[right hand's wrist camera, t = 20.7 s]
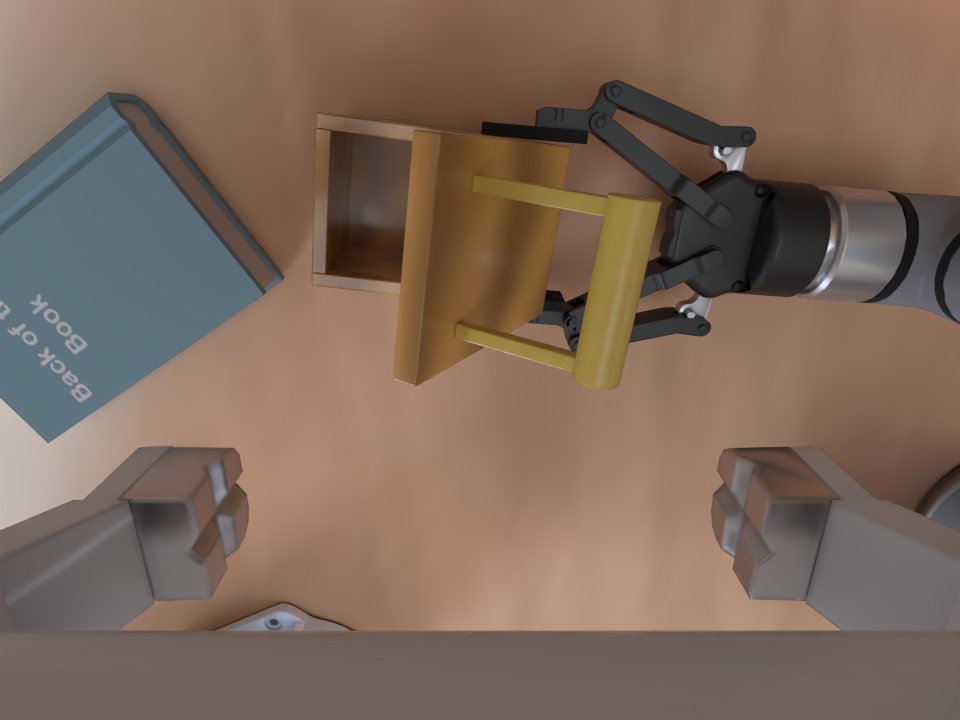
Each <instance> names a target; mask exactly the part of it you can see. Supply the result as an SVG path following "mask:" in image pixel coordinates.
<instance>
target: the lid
mask: <svg viewBox="0 0 960 720" xmlns="http://www.w3.org/2000/svg"><path fill="white" fill-rule="evenodd" d="M570 150H571V148H570V147H566V146H559V145H552V144H543V143H534V142H525V141H516V140H507V139H498V138H490V137H481V136H472V135H463V134H454V133H445V132H436V131H428V130H419V129H416V130H414V132H413V144H412V156H411V168H410V180H409V192H408V204H407V216H406V228H405V240H404V252H403V264H402V276H401V288H400V300H399V312H398V324H397V336H396V348H395V360H394V372H393V379H394V380H397V381H400V382H403V383H406V384H409V385H412V386H418V385H419V384H421V383H423V382H425V381H426V380H428V379H430V378H432V377H433V376H435V375H437V374H439V373H440V372H442V371H444V370H446V369H447V368H449V367H451V366H453V365H454V364H456V363H458V362H460V361H461V360H463V359H465V358H467V357H468V356H470V355H472V354H474V353H475V352H477V351H479V350H481V349H482V348H484V347H487V348H491V349H494V350H498V351H501V352H505V353H508V354H511V355H515V356H518V357H522V358H525V359H528V360H532V361H535V362H539V363H542V364H546V365H549V366H552V367H556V368H559V369H563V370H566V371H570V372H572V377H573V379H574V380H575V381H576V382H578V383H580V384H582V385H584V386H587V387H591V388H595V389H602V390H610V389H615V388H617V387H618V386H619V383H620V379H621V375H622V370H623V366H624V362H625V357H626V353H627V349H628V345H629V340H630V336H631V332H632V327H633V323H634V319H635V314H636V310H637V306H638V302H639V297H640V293H641V289H642V284H643V280H644V276H645V271H646V267H647V263H648V258H649V254H650V250H651V246H652V241H653V237H654V233H655V228H656V224H657V220H658V215H659V211H660V207H661V201H659V200H656V199H652V198H647V197H641V196H635V195H628V194H620V193H609V194H608V196H604V195H598V194H592V193H586V192H580V191H575V190H569V189H564V184H565V179H566V173H567V167H568V161H569V156H570ZM560 208H561V209H566V210H571V211H577V212H582V213H588V214H593V215H598V216H603V221H602V226H601V231H600V236H599V241H598V246H597V251H596V256H595V261H594V266H593V272H592V277H591V282H590V287H589V292H588V297H587V302H586V307H585V312H584V317H583V322H582V327H581V332H580V337H579V342H578V347H577V352H573V351H569V350H565V349H562V348H558V347H555V346H551V345H548V344H544V343H540V342H537V341H533V340H530V339H526V338H522V337H519V336H515V335H512V334H508V333H510V332H512V331H514V330H515V329H517V328H519V327H521V326H522V325H524V324H526V323H528V322H529V321H531V320H533V319H535V318H536V317H538V316H540V315H542V311H543V305H544V300H545V294H546V288H547V282H548V277H549V271H550V265H551V259H552V254H553V248H554V242H555V236H556V231H557V225H558V219H559V213H560Z"/></svg>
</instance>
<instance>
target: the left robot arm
mask: <svg viewBox="0 0 960 720" xmlns="http://www.w3.org/2000/svg"><path fill="white" fill-rule="evenodd" d="M617 108H618V109H620V110H622V111H624V112H627V113H629V114H631V115H634V116H636V117H638V118H640V119H643V120H645V121H647V122H649V123H652V124H654V125H656V126H659V127H661V128H663V129H665V130H668V131H670V132H672V133H674V134H677V135H679V136H681V137H683V138H686V139H688V140H690V141H693V142H696V143H699V144H703V145H709V155H710V156H711V157H712V158H714V159H717V160H719V161H720V162H721V164H722V170H721V171H719V172H717V173H716V174H714V175H712V176H710V177H709V178H707V179H705V180H704V181H702V182H700V183H698V184H697V185H696V184H695V183H694V182H692V181H691V180H690V179H689V178H687V177H685V176H684V175H682V174H681V173H680V172H678V171H677V170H676V169H675V168H673V167H672V166H671V165H670V164H668V163H667V162H666V161H665V160H663V159H662V158H661V157H660V156H658V155H657V154H656V153H655V152H654V151H652V150H651V149H650V148H649V147H647V146H646V145H645V144H644V143H642V142H641V141H640V140H639V139H637V138H636V137H635V136H634V135H632V134H631V133H630V132H629V131H627V130H626V129H625V128H624V127H622V126H621V125H620V124H619V123H617V122H616V121H615V120H614V119H613V118H612V117H613V115H614V113H615V111H616V109H617ZM588 132H590V133H592V134H593V135H594V136H595V137H597V138H598V139H599V140H600V141H602V142H603V143H604V144H605V145H607V146H608V147H609V148H610V149H612V150H613V151H614V152H616V153H617V154H618V155H619V156H621V157H622V158H623V159H624V160H626V161H627V162H628V163H629V164H631V165H632V166H633V167H635V168H636V169H637V170H638V171H640V172H641V173H642V174H643V175H645V176H646V177H647V178H648V179H650V180H651V181H652V182H654V183H655V184H656V185H657V186H658V187H659V188H660V189H661V190H663V191H664V192H665V193H666V194H668V195H669V196H670V197H671V198H673V199H674V200H673V202H672V203H671V205H670V206H667V211H666V216H665V220H666V230H665V232H664V235H663V237H662V239H661V242H660V247H659V251H660V252H661V256H660V257H657V258H655V259H653V260H651V261H649V262H648V263H647V267H646V271H645V276H644V280H643V284H642V289H641V293H640V297H639V299H640V298H642V297H644V296H647V295H649V294H651V293H653V292H656V291H658V290H665V289H668V288H671V287H673V286H675V285H678V284H680V283H682V282H685V283H686V284H687V285H688V286H689V287H690V288H691V289H692V290H693V291H695V293H694V295H693V297H692V298H690V299H689V300H683V301H680V302H679V303H677V305H676V307H675V308H674V307H665V308H658V309H653V310H648V311H643V312H638V313H636V314H635V319H634V323H633V327H632V332H631V336H630V340H629V343H631V342H636V341H641V340H646V339H651V338H656V337H661V336H666V335H671V334H676V333H678V334H686V335H694V336H705V335H707V334H708V333H709V332H710V330H711V325H710V323H709V322H708V321H707V316H708V313H709V309H710V306H711V302H712V299H713V298H715V297H718V296H720V295H723V294H726V293H741V294H754V295H767V296H780V297H791V296H794V295H796V296H798V297H799V298H805V299H820V300H834V301H849V302H864V303H879V304H889V305H899V306H908V307H915V308H920V309H924V310H927V311H930V312H933V313H935V314H937V315H940V316H942V317H944V318H947V319H949V320H951V321H954V322H956V323H958V324H960V197H959V196H945V195H928V194H911V193H897V192H892V191H886V190H874V189H863V188H851V187H840V186H820V187H816V186H814V185H812V184H804V183H792V182H781V181H769V180H757V179H752V178H750V177H749V176H747V175H746V174H745V173H744V172H742V171H743V165H744V160H745V154H746V149H747V147H749V146H751V145H752V144H753V143H754V142H755V139H756V132H755V130H754V129H753V128H751V127H739V126H720V125H718V124H715V123H713V122H711V121H709V120H707V119H704V118H702V117H700V116H698V115H695V114H693V113H691V112H689V111H686V110H684V109H682V108H680V107H677V106H675V105H673V104H671V103H669V102H666V101H664V100H662V99H660V98H657V97H655V96H653V95H651V94H648V93H646V92H644V91H642V90H639V89H637V88H635V87H633V86H631V85H628V84H626V83H624V82H622V81H618V80H615V81H611V82H607V83H605V84H603V85H602V86H601V87H600V89H599V94H598V96H597V98H596V100H595V102H594V104H593V105H592V106H591V107H590V108H589V109H587V110H575V109H563V108H552V107H545V108H542V109H539V110H537V111H536V120H535V126H526V125H514V124H503V123H491V122H482V133H481V134H483V135H490V136H499V137H511V138H522V139H534V140H545V141H557V142H568V143H580V144H587V138H588ZM587 297H588V292H587V293H584V294H582V295H580V296H578V297H576V298H573V299H571V300H569V301H567V302H565V301H564V299H563V296H562V294H561V292H560V291H549V290H546V294H545V300H544V305H543V311H542V315H540V316H538V317H536V318H535V319H533V320H531V321H529V322H528V323H535V324H536V323H537V324H549V325H558V326H561V327H562V328H563V329H564V333H565V337H566V340H567V342H568V345H569V347H570V350H571V351H573V352H577V347H578V342H579V337H580V332H581V327H582V322H583V317H584V312H585V307H586V302H587ZM915 512H917V513H919V514H921V515H924V516H926V517H928V518H931V519H933V520H936V521H938V522H940V523H943V524H945V525H947V526H950V527H952V528H955V529H957V530H959V531H960V467H959V468H957V469H955V470H954V471H952V472H951V473H949V474H948V475H946V476H945V477H944V478H943V479H941V480H940V481H939V482H938V483H937V484H936V485H935V486H934V487H933V488H932V489H931V490H930V491H929V492H928V493H927V494H926V496H925V497H924V498H923V500H922V501H921V503H920V504H919V506H918V508H917V509H916V511H915Z"/></svg>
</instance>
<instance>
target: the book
mask: <svg viewBox="0 0 960 720" xmlns="http://www.w3.org/2000/svg"><path fill="white" fill-rule="evenodd" d="M282 279H284V277H283V275H282V274H281V273H280V272H279V270H278V269H277V268H276V267H275V265H274V264H273V263H272V261H271V260H270V259H269V258H268V256H267V255H266V254H265V253H264V251H263V250H262V249H261V248H260V246H259V245H258V244H257V242H256V241H255V240H254V239H253V237H252V236H251V235H250V234H249V232H248V231H247V230H246V228H245V227H244V226H243V225H242V223H241V222H240V221H239V220H238V218H237V217H236V216H235V214H234V213H233V212H232V211H231V209H230V208H229V207H228V206H227V204H226V203H225V202H224V200H223V199H222V198H221V197H220V195H219V194H218V193H217V192H216V190H215V189H214V188H213V186H212V185H211V184H210V183H209V181H208V180H207V179H206V178H205V176H204V175H203V174H202V172H201V171H200V170H199V169H198V167H197V166H196V165H195V164H194V162H193V161H192V160H191V158H190V157H189V156H188V155H187V153H186V152H185V151H184V150H183V148H182V147H181V146H180V145H179V143H178V142H177V141H176V139H175V138H174V137H173V136H172V134H171V133H170V132H169V131H168V129H167V128H165V127H164V126H163V125H162V124H160V121H159V118H158V117H157V115H156V114H155V113H154V111H153V110H152V109H151V108H150V107H149V106H148V105H147V104H145V103H144V102H143V101H142V100H140V99H139V98H138V97H137V96H135V95H133V94H120V93H107V94H105V95H104V96H103V97H102V98H101V99H99V100H98V101H97V102H96V103H95V104H93V105H92V106H91V107H90V108H89V109H87V110H86V111H85V112H84V113H83V114H81V115H80V116H79V117H78V118H77V119H75V120H74V121H73V122H72V123H71V124H70V125H68V126H67V127H66V128H65V129H64V130H62V131H61V132H60V133H59V134H58V135H56V136H55V137H54V138H53V139H52V140H50V141H49V142H48V143H47V144H46V145H44V146H43V147H42V148H41V149H40V150H38V151H37V152H36V153H35V154H34V155H32V156H31V157H30V158H29V159H28V160H26V161H25V162H24V163H23V164H22V165H20V166H19V167H18V168H17V169H16V170H15V171H13V172H12V173H11V174H10V175H9V176H7V177H6V178H5V179H4V180H3V181H1V182H0V398H1V399H2V400H3V401H4V402H5V403H7V404H8V405H9V406H10V407H11V408H12V409H13V410H14V411H15V412H16V413H17V414H18V415H19V416H20V417H21V418H22V419H23V420H24V421H25V422H26V423H27V424H28V425H29V426H31V427H32V428H33V429H34V430H35V431H36V432H37V433H38V434H39V435H40V436H41V437H42V438H43V439H44V440H45V441H46V442H47V443H49V442H51V441H52V440H54V439H55V438H57V437H58V436H59V435H61V434H62V433H64V432H65V431H67V430H68V429H70V428H71V427H72V426H74V425H75V424H77V423H78V422H80V421H81V420H83V419H84V418H85V417H87V416H88V415H90V414H91V413H93V412H94V411H96V410H97V409H99V408H100V407H101V406H103V405H104V404H106V403H107V402H109V401H110V400H112V399H113V398H114V397H116V396H117V395H119V394H120V393H122V392H123V391H125V390H126V389H127V388H129V387H130V386H132V385H133V384H135V383H136V382H138V381H139V380H141V379H142V378H143V377H145V376H146V375H148V374H149V373H151V372H152V371H154V370H155V369H156V368H158V367H159V366H161V365H162V364H164V363H165V362H167V361H168V360H169V359H171V358H172V357H174V356H175V355H177V354H178V353H180V352H181V351H183V350H184V349H185V348H187V347H188V346H190V345H191V344H193V343H194V342H196V341H197V340H198V339H200V338H201V337H203V336H204V335H206V334H207V333H209V332H210V331H211V330H213V329H214V328H216V327H217V326H219V325H220V324H222V323H223V322H225V321H226V320H227V319H229V318H230V317H232V316H233V315H235V314H236V313H238V312H239V311H240V310H242V309H243V308H245V307H246V306H248V305H249V304H251V303H252V302H253V301H255V300H256V299H258V298H259V297H261V296H262V295H264V294H265V293H266V291H267V290H268V289H270V288H271V287H272V286H274V285H275V284H277V283H278V282H280V281H281V280H282Z"/></svg>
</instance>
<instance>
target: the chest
mask: <svg viewBox="0 0 960 720" xmlns="http://www.w3.org/2000/svg"><path fill="white" fill-rule="evenodd" d="M316 127H317V128H316V145H315V180H314V215H313V251H312V272H313V273H312V285H313V286H322V287H331V288H340V289H349V290H359V291H368V292H377V293H387V294H396V295H400V288H401V276H402V264H403V252H404V240H405V228H406V216H407V204H408V192H409V180H410V168H411V156H412V144H413V132H414V130H416V129H419V130H428V131H436V132H445V133H454V134H463V135H472V136H481V137H490V138H498V139H507V140H516V141H525V142H534V143H543V142H538V141H534V140H527V139H520V138H511V137H499V136H490V135H483V134H481V133H476V132H469V131H462V130H455V129H447V128H440V127H433V126H426V125H418V124H411V123H404V122H397V121H389V120H382V119H375V118H367V117H360V116H353V115H346V114H332V113H321V112H318V113H317V114H316ZM543 144H549V143H543ZM552 145H554V144H552Z"/></svg>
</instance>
